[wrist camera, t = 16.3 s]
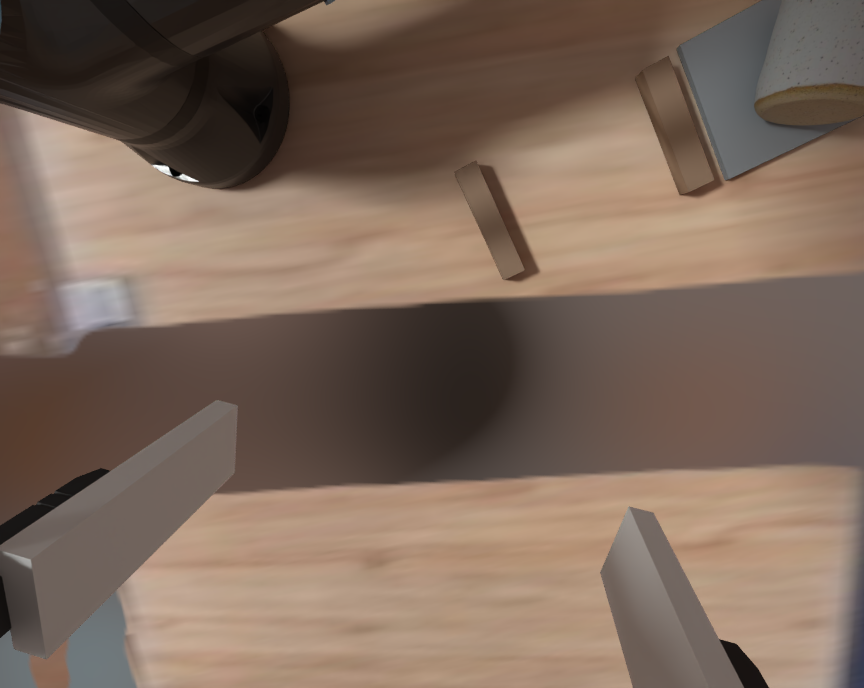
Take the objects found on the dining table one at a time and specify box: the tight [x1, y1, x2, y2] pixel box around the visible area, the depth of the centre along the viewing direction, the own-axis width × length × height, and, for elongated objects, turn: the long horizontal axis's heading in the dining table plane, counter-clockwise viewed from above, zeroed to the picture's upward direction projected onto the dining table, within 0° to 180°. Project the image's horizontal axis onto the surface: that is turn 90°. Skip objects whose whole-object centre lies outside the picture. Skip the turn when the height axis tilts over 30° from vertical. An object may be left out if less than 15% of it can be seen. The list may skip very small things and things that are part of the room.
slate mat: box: [677, 0, 864, 180], centre depth 32 cm, size 11×13×1 cm
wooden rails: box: [454, 56, 714, 280], centre depth 35 cm, size 10×18×2 cm, turn 116°
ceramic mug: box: [754, 0, 864, 126], centre depth 28 cm, size 11×8×8 cm
